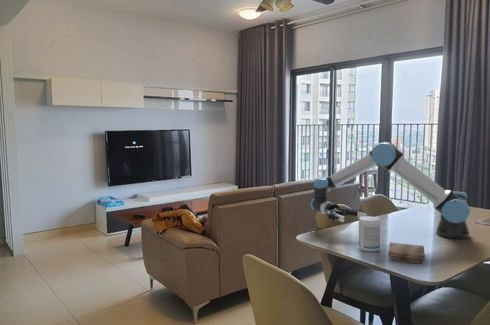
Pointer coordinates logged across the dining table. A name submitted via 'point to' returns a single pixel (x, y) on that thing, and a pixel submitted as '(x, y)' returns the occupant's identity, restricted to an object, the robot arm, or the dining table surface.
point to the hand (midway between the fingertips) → (355, 218)
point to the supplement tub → (369, 233)
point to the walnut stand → (406, 252)
